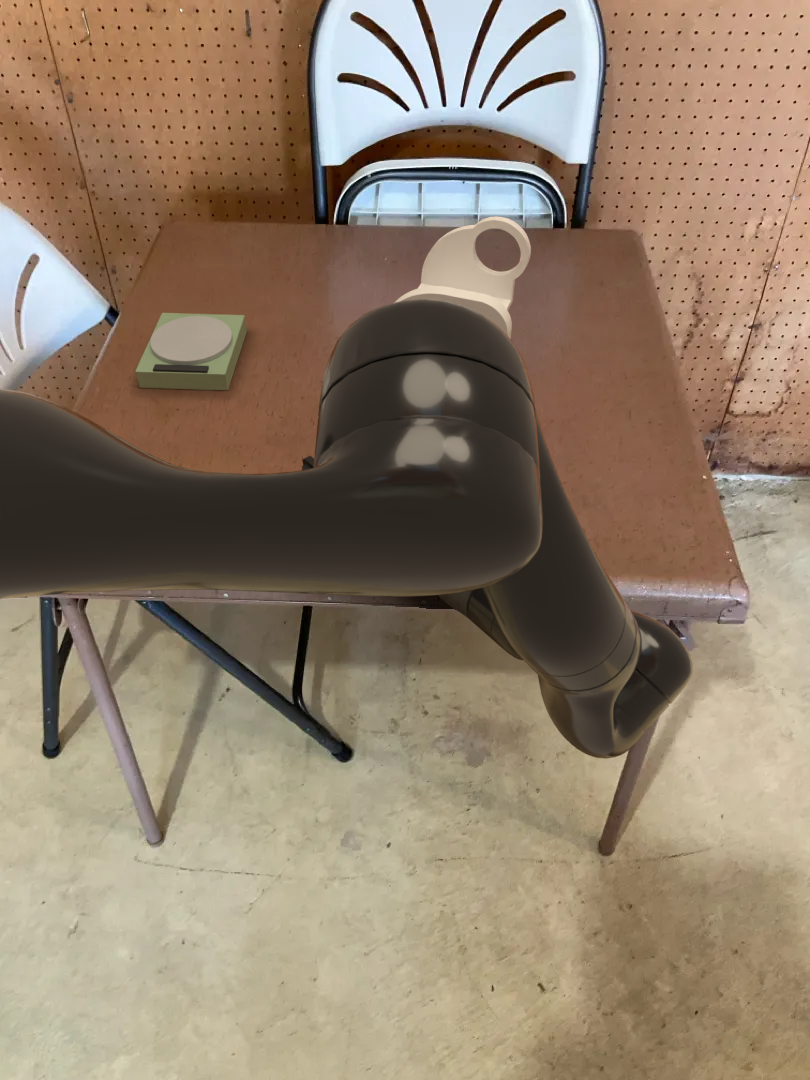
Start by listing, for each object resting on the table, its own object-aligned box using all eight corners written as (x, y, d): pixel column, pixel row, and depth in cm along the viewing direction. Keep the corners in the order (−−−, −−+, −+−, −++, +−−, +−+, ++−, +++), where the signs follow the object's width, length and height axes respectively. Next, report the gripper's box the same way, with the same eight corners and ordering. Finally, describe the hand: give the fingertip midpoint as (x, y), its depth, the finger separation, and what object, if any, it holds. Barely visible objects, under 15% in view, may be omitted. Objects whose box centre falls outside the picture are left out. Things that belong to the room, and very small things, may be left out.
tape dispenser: (422, 354, 99) (425, 204, 86) (529, 376, 96) (549, 224, 83) (378, 425, 90) (374, 270, 76) (495, 453, 87) (511, 296, 73)
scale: (228, 390, 94) (224, 369, 92) (139, 387, 94) (133, 366, 92) (247, 331, 102) (244, 310, 100) (165, 328, 102) (160, 308, 100)
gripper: (526, 480, 69) (395, 385, 77) (390, 565, 62) (264, 451, 71) (517, 543, 74) (395, 448, 83) (391, 627, 68) (273, 514, 76)
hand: (335, 450), depth 77 cm, fingers closed on light bulb, 6 cm apart
